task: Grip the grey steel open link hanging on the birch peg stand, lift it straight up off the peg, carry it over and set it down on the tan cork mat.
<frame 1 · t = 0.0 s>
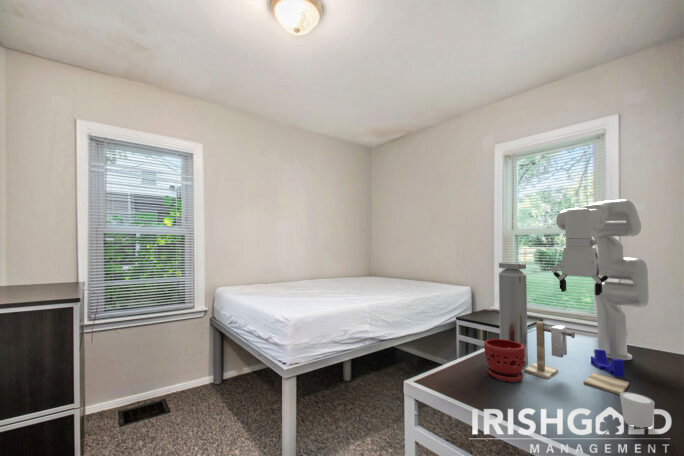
hand: (580, 293, 109), 31 cm above the table, tool pointing down, fingers open, 9 cm apart
cable clip: (606, 370, 120), on the table
shot glass: (637, 425, 84), on the table
stand: (541, 371, 118), on the table
plant pot: (504, 376, 114), on the table
grey metal bottle: (513, 361, 129), on the table
mat: (606, 384, 108), on the table
c link: (559, 354, 114), point 8 cm above the table, touching stand
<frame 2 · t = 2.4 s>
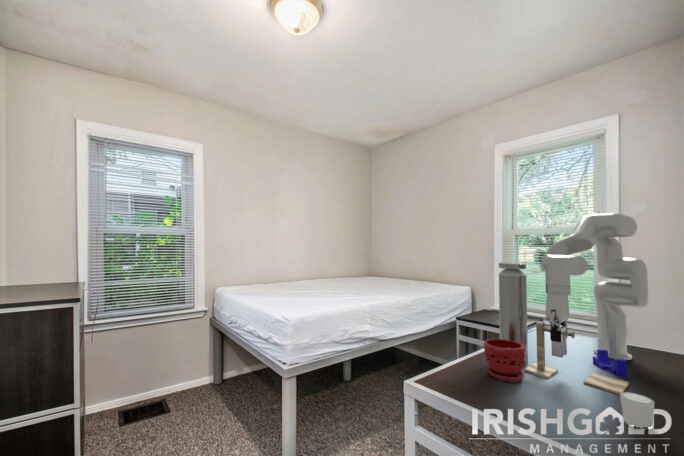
hand: (559, 339, 114), 14 cm above the table, tool pointing down, fingers closed on c link, 6 cm apart
c link: (559, 354, 114), point 8 cm above the table, touching gripper, stand
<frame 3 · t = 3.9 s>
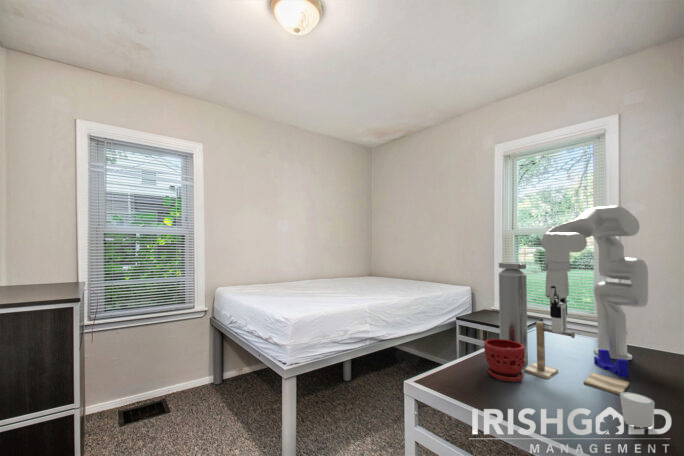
hand: (559, 315, 115), 22 cm above the table, tool pointing down, fingers closed on c link, 6 cm apart
c link: (559, 331, 114), point 16 cm above the table, touching gripper
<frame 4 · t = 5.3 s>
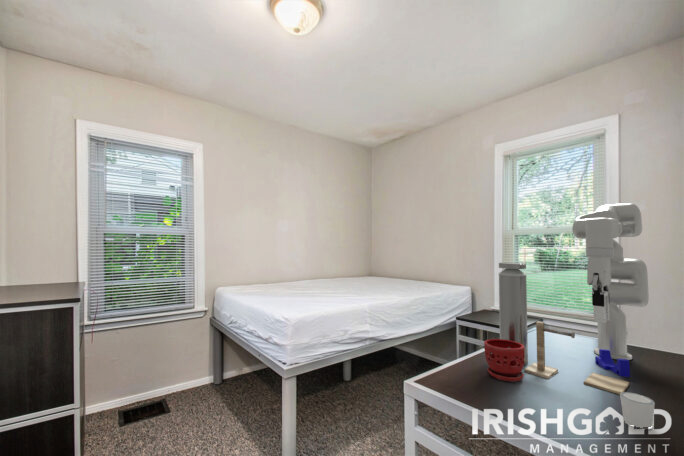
hand: (601, 304, 110), 27 cm above the table, tool pointing down, fingers closed on c link, 6 cm apart
c link: (601, 320, 109), point 22 cm above the table, touching gripper
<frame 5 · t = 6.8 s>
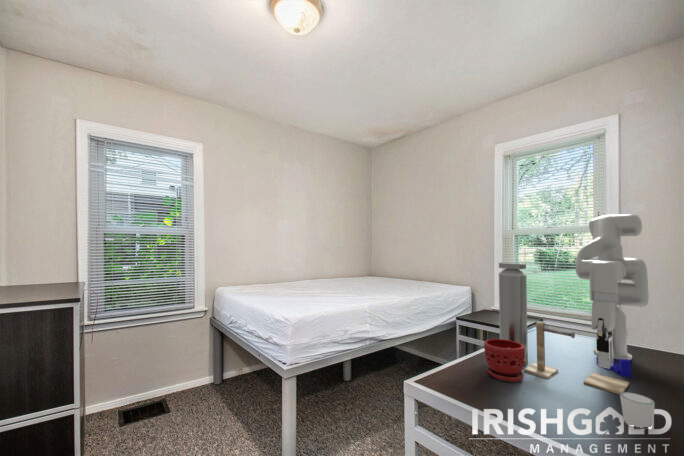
hand: (605, 349, 108), 12 cm above the table, tool pointing down, fingers closed on c link, 6 cm apart
c link: (605, 365, 108), point 6 cm above the table, touching gripper
when the fingers open (7 cm above the table, at t = 8.3 s): c link stays where it is, resting on mat.
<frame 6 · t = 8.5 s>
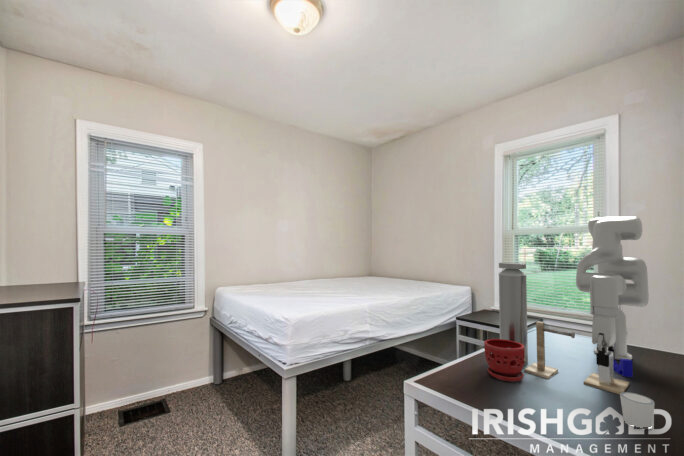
hand: (605, 362, 108), 7 cm above the table, tool pointing down, fingers open, 7 cm apart
c link: (606, 381, 108), point 1 cm above the table, touching mat
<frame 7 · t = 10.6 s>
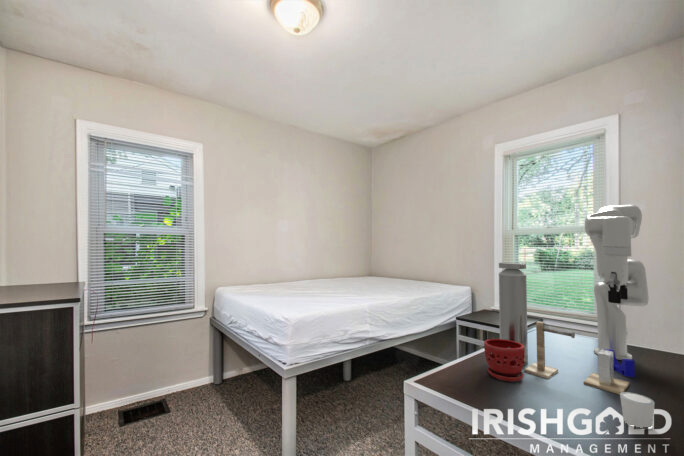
hand: (618, 300, 110), 28 cm above the table, tool pointing down, fingers open, 9 cm apart
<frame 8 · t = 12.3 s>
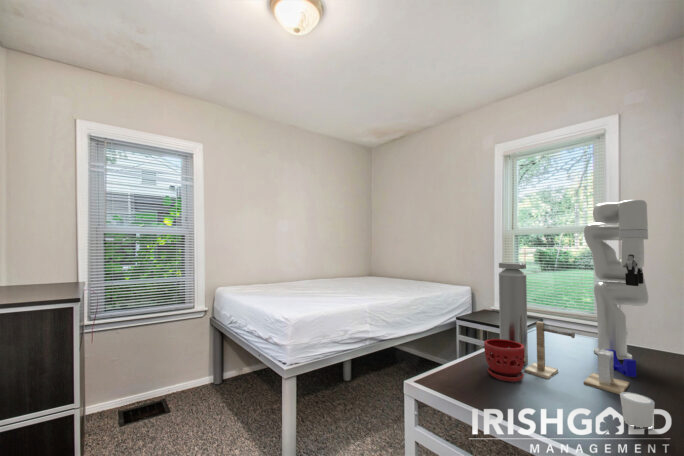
hand: (634, 284, 109), 34 cm above the table, tool pointing down, fingers open, 9 cm apart
at the end: c link inside the target area (0.1 cm from its centre), point 0.8 cm above the table; c link touching mat; the gripper is holding nothing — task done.
